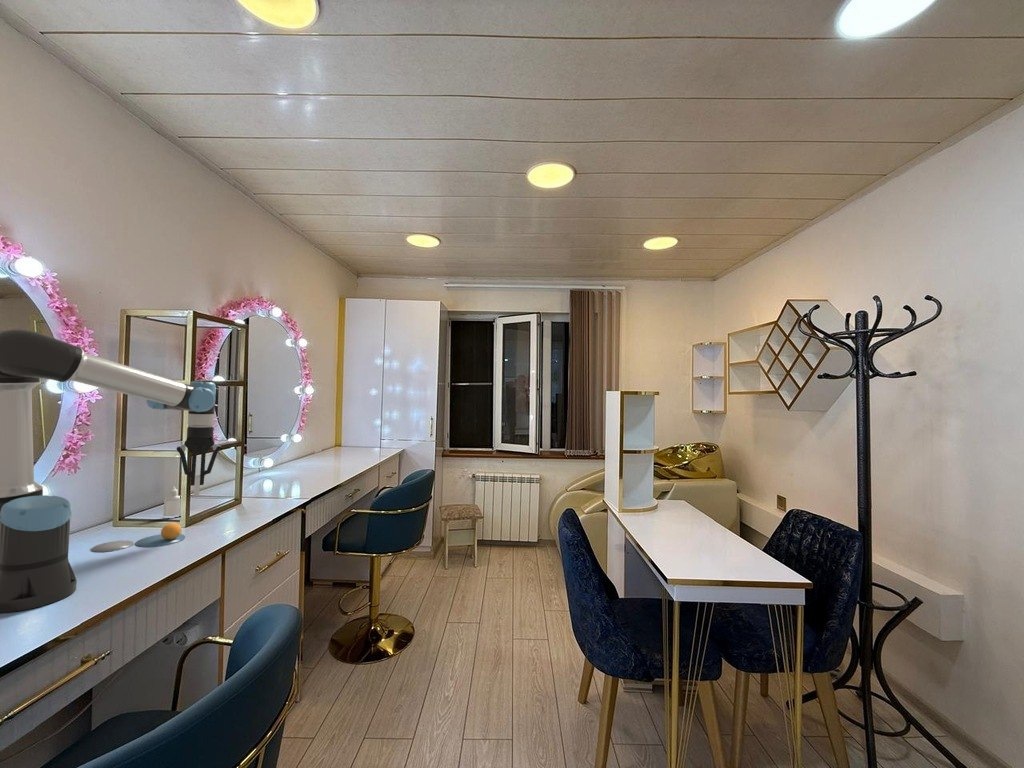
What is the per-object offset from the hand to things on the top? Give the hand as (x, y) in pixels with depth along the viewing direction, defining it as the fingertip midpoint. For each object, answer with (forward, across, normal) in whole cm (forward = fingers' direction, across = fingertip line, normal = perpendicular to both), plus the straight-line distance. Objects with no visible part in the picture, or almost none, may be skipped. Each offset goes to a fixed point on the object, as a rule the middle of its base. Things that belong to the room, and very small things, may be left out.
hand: (196, 494), depth 154 cm
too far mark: (+15, +21, 0) cm, 26 cm away
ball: (+12, +6, 0) cm, 13 cm away
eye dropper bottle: (+14, +7, -29) cm, 33 cm away
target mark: (+14, +9, 0) cm, 17 cm away
